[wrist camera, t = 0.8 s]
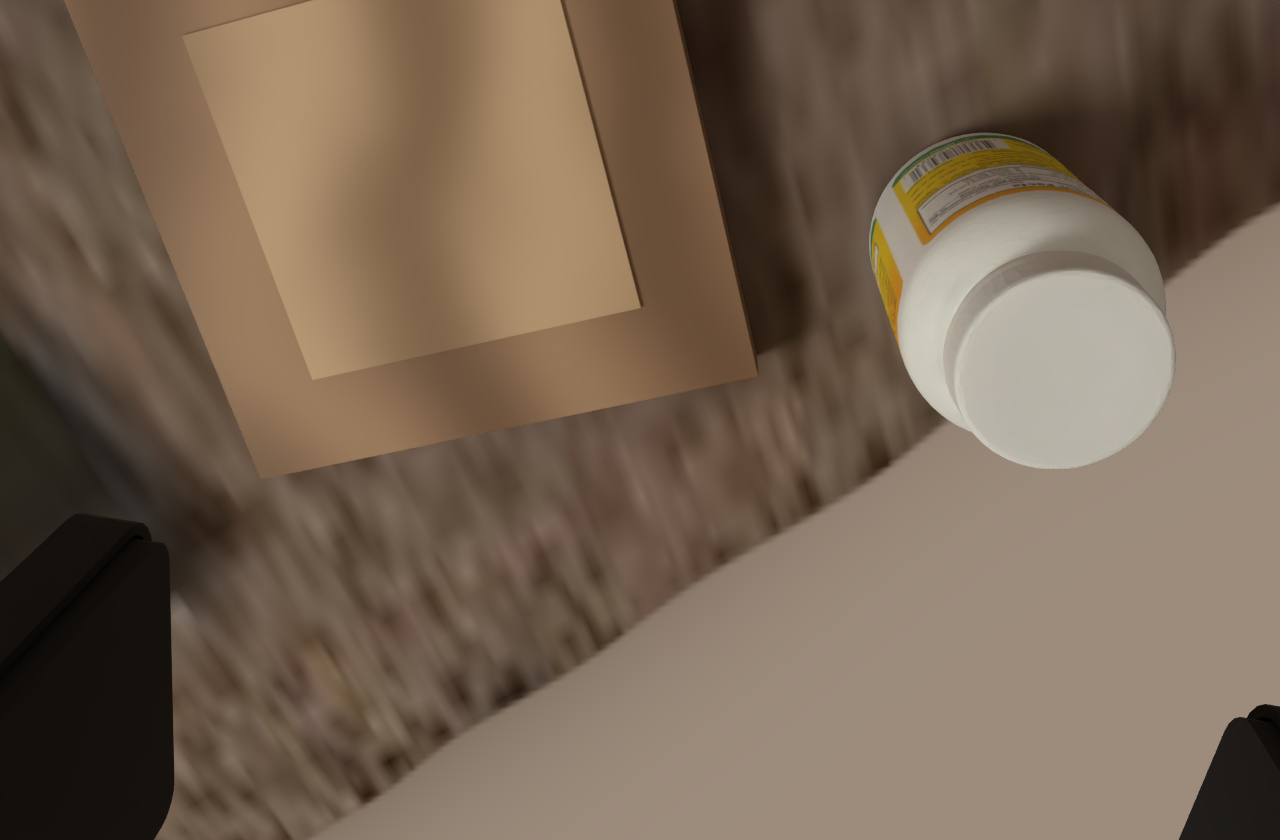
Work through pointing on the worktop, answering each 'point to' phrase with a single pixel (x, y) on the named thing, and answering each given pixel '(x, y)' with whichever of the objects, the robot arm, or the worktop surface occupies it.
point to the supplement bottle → (1022, 301)
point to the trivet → (427, 210)
